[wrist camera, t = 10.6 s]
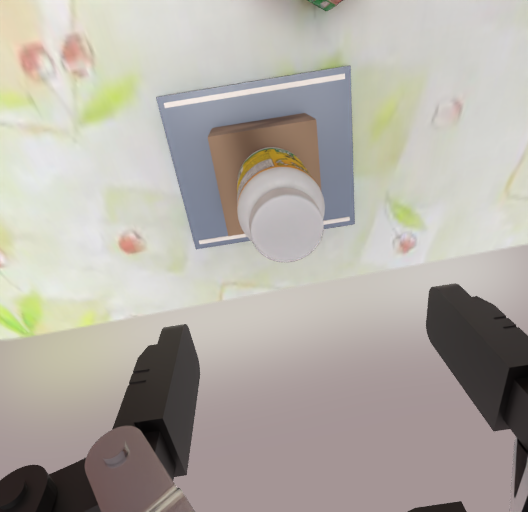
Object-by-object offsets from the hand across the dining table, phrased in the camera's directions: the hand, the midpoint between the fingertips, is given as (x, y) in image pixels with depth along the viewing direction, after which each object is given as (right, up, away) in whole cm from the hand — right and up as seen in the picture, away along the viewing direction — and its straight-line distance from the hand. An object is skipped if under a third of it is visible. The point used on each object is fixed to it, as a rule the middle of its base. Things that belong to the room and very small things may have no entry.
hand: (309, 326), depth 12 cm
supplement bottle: (-1, +8, +16) cm, 18 cm away
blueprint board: (-1, +11, +21) cm, 24 cm away
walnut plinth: (-1, +10, +20) cm, 23 cm away
